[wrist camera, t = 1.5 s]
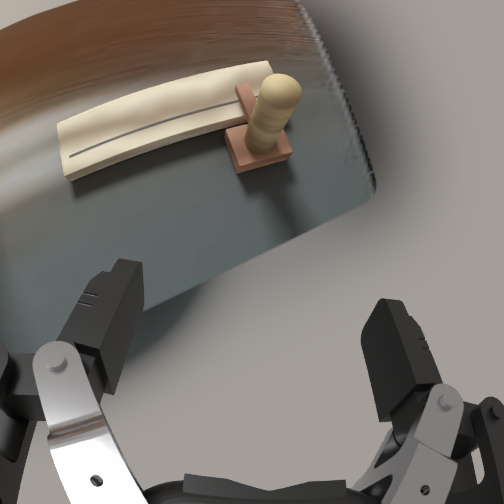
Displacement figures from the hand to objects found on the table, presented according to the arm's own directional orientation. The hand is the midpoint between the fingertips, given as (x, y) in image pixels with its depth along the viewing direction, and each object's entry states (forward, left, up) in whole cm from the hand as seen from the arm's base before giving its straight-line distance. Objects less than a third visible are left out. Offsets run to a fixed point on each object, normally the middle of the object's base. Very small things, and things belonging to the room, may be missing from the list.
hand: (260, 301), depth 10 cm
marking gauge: (-15, +9, -23) cm, 29 cm away
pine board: (-20, +1, -23) cm, 30 cm away
